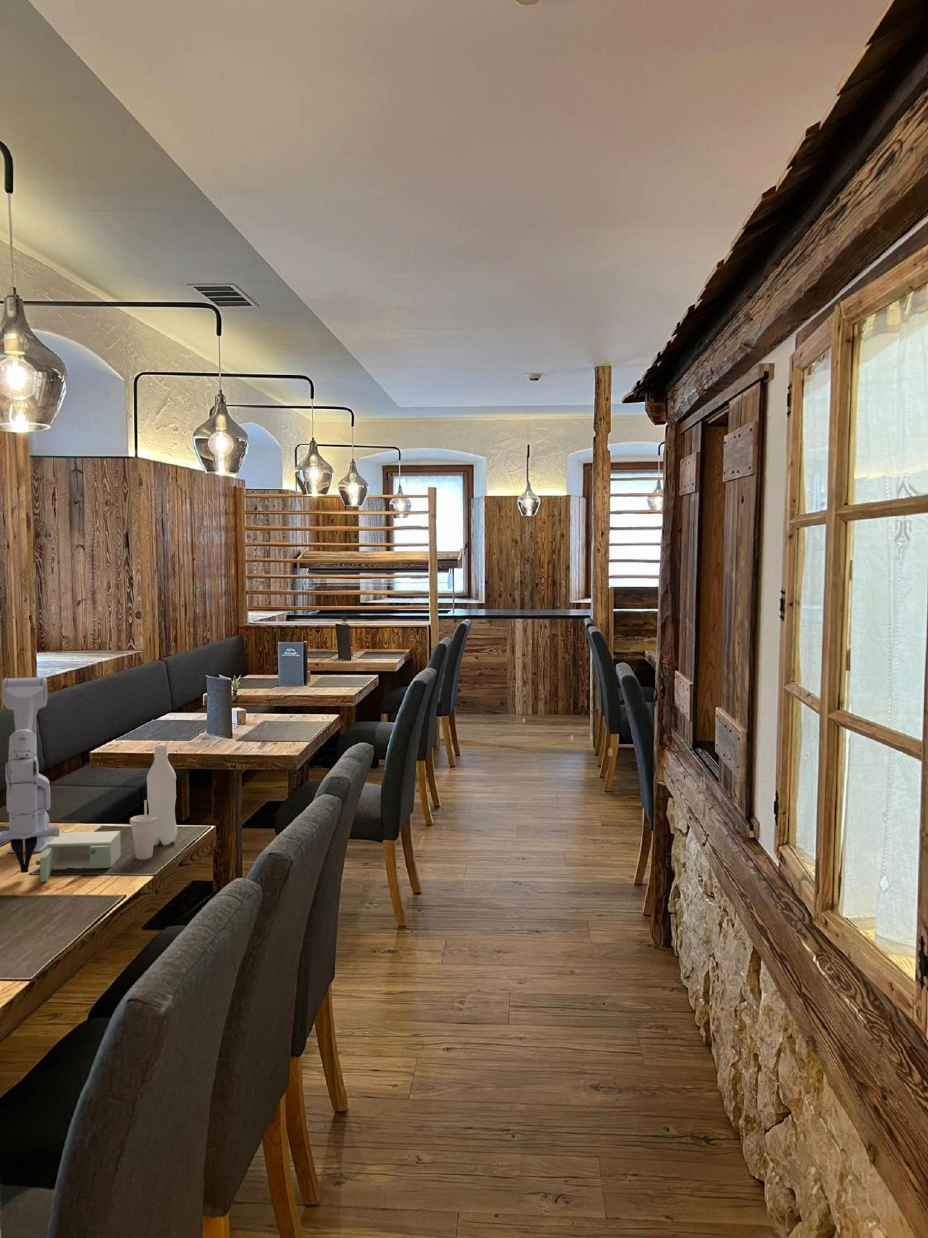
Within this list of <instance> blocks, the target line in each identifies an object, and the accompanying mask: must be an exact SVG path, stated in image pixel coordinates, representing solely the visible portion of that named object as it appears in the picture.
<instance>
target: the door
mask: <svg viewBox="0 0 928 1238" xmlns="http://www.w3.org/2000/svg"><path fill="white" fill-rule="evenodd" d="M35 865H36V866H39V865H40V867H39V868H40V869H39V870H40V871H39V874H40V882H41V883H42V882H47V881H48V879H49V877H50V875H51V872H52V870H53V869H52V849H51V847H48V846H47V847H46V848H45V849H44V852H43V853H42V855H41V857H40V859H39V860H36V861H35Z"/></svg>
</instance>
